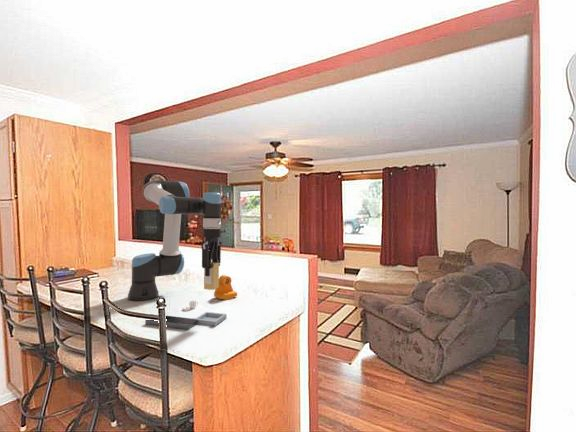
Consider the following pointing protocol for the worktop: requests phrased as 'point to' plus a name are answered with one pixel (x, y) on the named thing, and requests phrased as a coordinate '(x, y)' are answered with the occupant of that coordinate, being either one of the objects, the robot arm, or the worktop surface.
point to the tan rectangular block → (213, 277)
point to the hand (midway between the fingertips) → (211, 282)
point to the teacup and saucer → (191, 306)
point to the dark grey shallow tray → (175, 322)
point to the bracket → (224, 289)
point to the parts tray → (211, 318)
